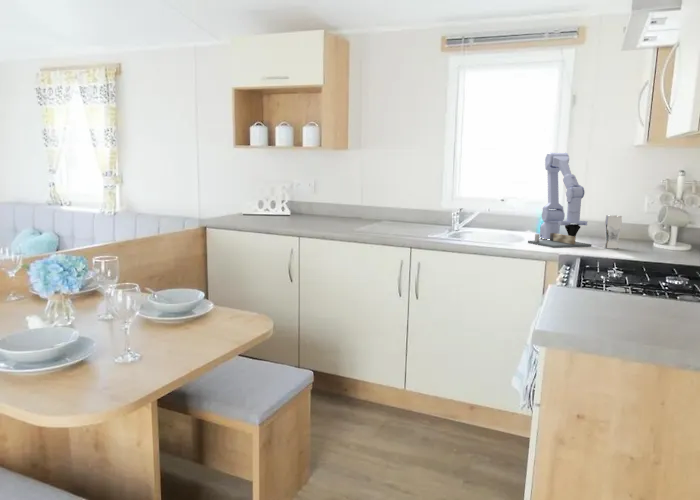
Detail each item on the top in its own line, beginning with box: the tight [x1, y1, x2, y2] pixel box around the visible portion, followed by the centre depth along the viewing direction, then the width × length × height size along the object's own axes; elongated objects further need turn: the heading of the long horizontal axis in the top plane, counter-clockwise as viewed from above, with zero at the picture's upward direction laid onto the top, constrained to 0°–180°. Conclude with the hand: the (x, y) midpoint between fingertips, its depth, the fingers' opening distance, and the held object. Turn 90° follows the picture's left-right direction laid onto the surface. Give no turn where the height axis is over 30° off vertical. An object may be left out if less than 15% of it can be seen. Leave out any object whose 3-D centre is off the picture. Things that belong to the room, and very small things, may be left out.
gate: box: [550, 233, 577, 244], centre depth 263 cm, size 16×2×4 cm, turn 20°
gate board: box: [527, 233, 592, 249], centre depth 263 cm, size 18×22×5 cm
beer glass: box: [603, 214, 623, 250], centre depth 253 cm, size 7×7×15 cm
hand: (571, 240), depth 262 cm, fingers closed
